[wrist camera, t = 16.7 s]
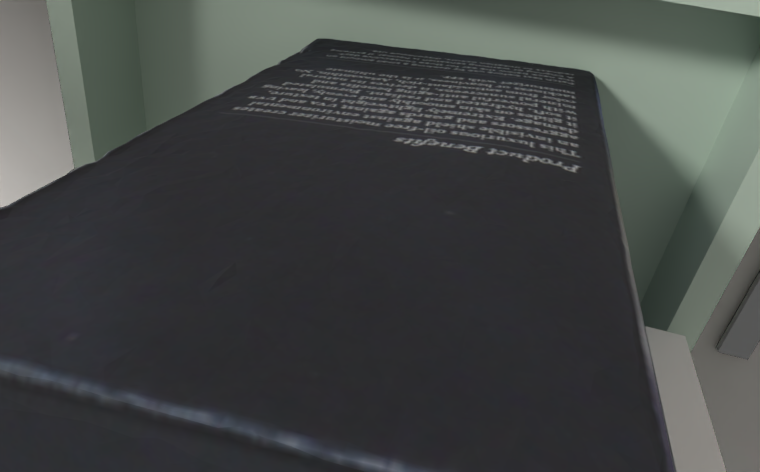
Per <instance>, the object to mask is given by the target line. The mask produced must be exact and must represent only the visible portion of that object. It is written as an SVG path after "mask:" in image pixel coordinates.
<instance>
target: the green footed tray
mask: <svg viewBox="0 0 760 472" xmlns="http://www.w3.org/2000/svg"><path fill="white" fill-rule="evenodd" d="M46 3H47V9H48V15H49V21H50V27H51V33H52V39H53V45H54V51H55V56H56V62H57V68H58V74H59V80H60V86H61V92H62V98H63V103H64V109H65V115H66V121H67V127H68V133H69V139H70V145H71V151H72V156H73V162H74V168H78V167H80V166H82V165H84V164H88V163H92V162H96V161H97V160H99V159H101V158H102V157H103V156H104V155H105V154H106V153H107V152H108V151H110V150H112V149H114V148H117V147H119V146H121V145H123V144H125V143H127V142H128V141H130V140H131V139H133V138H134V137H136V136H138V135H139V134H141V133H143V132H145V131H147V130H150V129H152V128H154V127H155V126H157V125H160V124H162V123H164V122H166V121H167V120H169V119H171V118H174V117H176V116H178V115H180V114H182V113H184V112H186V111H187V110H189V109H191V108H193V107H195V106H196V105H198V104H200V103H202V102H204V101H206V100H208V99H210V98H213V97H214V96H215V95H218V94H220V93H222V92H223V91H225V90H227V89H230V88H231V87H232V86H235V85H238V84H241V83H243V82H245V81H246V80H247V79H248V78H250V77H251V76H253V75H255V74H257V73H259V72H260V71H262V70H264V69H266V68H269V67H272V66H274V65H277V64H278V63H279V62H280V61H281V60H285V59H286V58H288V57H289V56H291V55H294V54H295V53H297V52H300V51H301V50H302V48H304V47H306V46H307V45H309V44H310V43H311V42H313V41H314V40H316V39H319V38H327V39H335V40H343V41H352V42H361V43H370V44H379V45H384V46H391V47H401V48H410V49H420V50H428V51H437V52H447V53H455V54H461V55H472V56H481V57H487V58H495V59H501V60H515V61H522V62H528V63H537V64H543V65H551V66H558V67H566V68H575V69H580V70H585V71H590V72H591V73H592V74H594V76H595V79H596V83H597V87H598V92H599V97H600V103H601V109H602V115H603V120H604V127H605V132H606V136H607V141H608V146H609V151H610V156H611V161H612V167H613V173H614V179H615V184H616V189H617V194H618V198H619V203H620V208H621V213H622V218H623V223H624V228H625V233H626V238H627V242H628V247H629V253H630V259H631V266H632V270H633V275H634V279H635V284H636V288H637V293H638V297H639V302H640V306H641V311H642V316H643V321H644V326H647V327H651V328H655V329H659V330H663V331H667V332H671V333H675V334H679V335H683V336H685V337H686V340H687V344H688V347H689V350H690V353H691V351H692V349H693V347H694V345H695V344H696V342H697V340H698V338H699V336H700V335H701V333H702V331H703V329H704V327H705V325H706V324H707V322H708V320H709V318H710V316H711V315H712V313H713V311H714V309H715V307H716V305H717V304H718V302H719V300H720V298H721V296H722V295H723V293H724V291H725V289H726V287H727V285H728V284H729V282H730V280H731V278H732V276H733V275H734V273H735V271H736V269H737V267H738V266H739V264H740V262H741V260H742V258H743V256H744V255H745V253H746V251H747V249H748V247H749V246H750V244H751V242H752V240H753V238H754V236H755V235H756V233H757V231H758V229H759V227H760V0H46Z"/></svg>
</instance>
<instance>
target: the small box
mask: <svg viewBox="0 0 760 472" xmlns="http://www.w3.org/2000/svg"><path fill="white" fill-rule="evenodd" d="M0 472H674V467H673V462H672V457H671V452H670V447H669V442H668V437H667V432H666V428H665V423H664V418H663V414H662V409H661V404H660V400H659V395H658V390H657V385H656V380H655V376H654V371H653V366H652V361H651V356H650V351H649V346H648V341H647V336H646V331H645V326H644V321H643V316H642V311H641V306H640V302H639V297H638V293H637V288H636V284H635V279H634V275H633V270H632V266H631V259H630V253H629V247H628V242H627V238H626V233H625V228H624V223H623V218H622V213H621V208H620V203H619V198H618V194H617V189H616V184H615V179H614V173H613V167H612V161H611V156H610V151H609V146H608V141H607V136H606V132H605V127H604V120H603V115H602V109H601V103H600V97H599V92H598V87H597V83H596V79H595V76H594V74H592V73H591V72H590V71H585V70H580V69H575V68H566V67H558V66H551V65H543V64H537V63H528V62H522V61H515V60H501V59H495V58H487V57H481V56H472V55H461V54H455V53H447V52H437V51H428V50H420V49H410V48H401V47H391V46H384V45H379V44H370V43H361V42H352V41H343V40H335V39H327V38H319V39H316V40H314V41H313V42H311V43H310V44H309V45H307V46H306V47H304V48H302V50H301V51H300V52H297V53H295V54H294V55H291V56H289V57H288V58H286V59H285V60H281V61H280V62H279V63H278V64H277V65H274V66H272V67H269V68H266V69H264V70H262V71H260V72H259V73H257V74H255V75H253V76H251V77H250V78H248V79H247V80H246V81H245V82H243V83H241V84H238V85H235V86H232V87H231V88H230V89H227V90H225V91H223V92H222V93H220V94H218V95H215V96H214V97H213V98H210V99H208V100H206V101H204V102H202V103H200V104H198V105H196V106H195V107H193V108H191V109H189V110H187V111H186V112H184V113H182V114H180V115H178V116H176V117H174V118H171V119H169V120H167V121H166V122H164V123H162V124H160V125H157V126H155V127H154V128H152V129H150V130H147V131H145V132H143V133H141V134H139V135H138V136H136V137H134V138H133V139H131V140H130V141H128V142H127V143H125V144H123V145H121V146H119V147H117V148H114V149H112V150H110V151H108V152H107V153H106V154H105V155H104V156H103V157H102V158H101V159H99V160H97V161H96V162H92V163H88V164H84V165H82V166H80V167H78V168H75V169H73V170H71V171H70V172H69V173H68V174H67V175H65V176H63V177H61V178H59V179H57V180H55V181H53V182H51V183H49V184H47V185H46V186H44V187H42V188H40V189H38V190H36V191H34V192H32V193H30V194H28V195H26V196H24V197H22V198H21V199H19V200H17V201H15V202H13V203H11V204H10V205H8V206H5V207H1V208H0Z"/></svg>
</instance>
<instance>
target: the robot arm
mask: <svg viewBox="0 0 760 472" xmlns="http://www.w3.org/2000/svg"><path fill="white" fill-rule="evenodd" d="M645 331H646V336H647V341H648V346H649V351H650V356H651V361H652V366H653V371H654V376H655V380H656V385H657V390H658V395H659V400H660V404H661V409H662V414H663V418H664V423H665V428H666V432H667V437H668V442H669V447H670V452H671V457H672V462H673V467H674V472H727V471H726V468H725V465H724V461H723V458H722V455H721V452H720V448H719V445H718V442H717V438H716V435H715V432H714V429H713V425H712V422H711V419H710V416H709V412H708V409H707V406H706V402H705V399H704V396H703V393H702V389H701V386H700V383H699V380H698V376H697V373H696V370H695V366H694V363H693V360H692V357H691V353H690V350H689V347H688V344H687V340H686V337H685V336H683V335H679V334H675V333H671V332H667V331H663V330H659V329H655V328H651V327H647V326H645Z"/></svg>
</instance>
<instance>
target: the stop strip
mask: <svg viewBox="0 0 760 472" xmlns="http://www.w3.org/2000/svg"><path fill="white" fill-rule="evenodd" d="M759 341H760V272H759V273H758V275H757V277H756V279H755V280H754V282H753V284H752V286H751V287H750V289H749V291H748V293H747V294H746V296H745V298H744V300H743V301H742V303H741V305H740V307H739V308H738V310H737V312H736V314H735V315H734V317H733V319H732V321H731V322H730V324H729V326H728V328H727V329H726V331H725V333H724V335H723V336H722V338H721V340H720V342H719V343H718V345H717V347H716V348H717V351H718V352H720V353H724V354H728V355H732V356H736V357H740V358H743V359H747V360H748V359H749V357H750V355H751V354H752V352H753V351H754V349H755V347H756V346H757V344H758V343H759Z"/></svg>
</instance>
